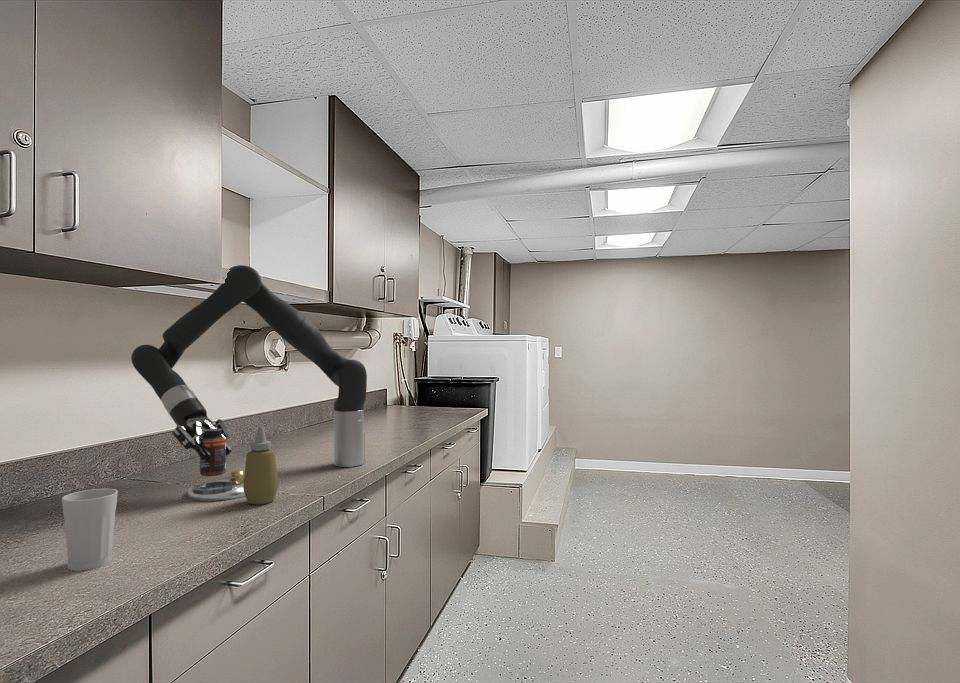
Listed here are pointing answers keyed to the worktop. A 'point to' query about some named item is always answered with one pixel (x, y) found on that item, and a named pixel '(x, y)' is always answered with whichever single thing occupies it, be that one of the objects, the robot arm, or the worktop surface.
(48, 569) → the worktop surface
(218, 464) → the supplement bottle
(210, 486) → the carrier disc
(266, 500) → the squeeze bottle
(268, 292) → the robot arm
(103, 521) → the cup
